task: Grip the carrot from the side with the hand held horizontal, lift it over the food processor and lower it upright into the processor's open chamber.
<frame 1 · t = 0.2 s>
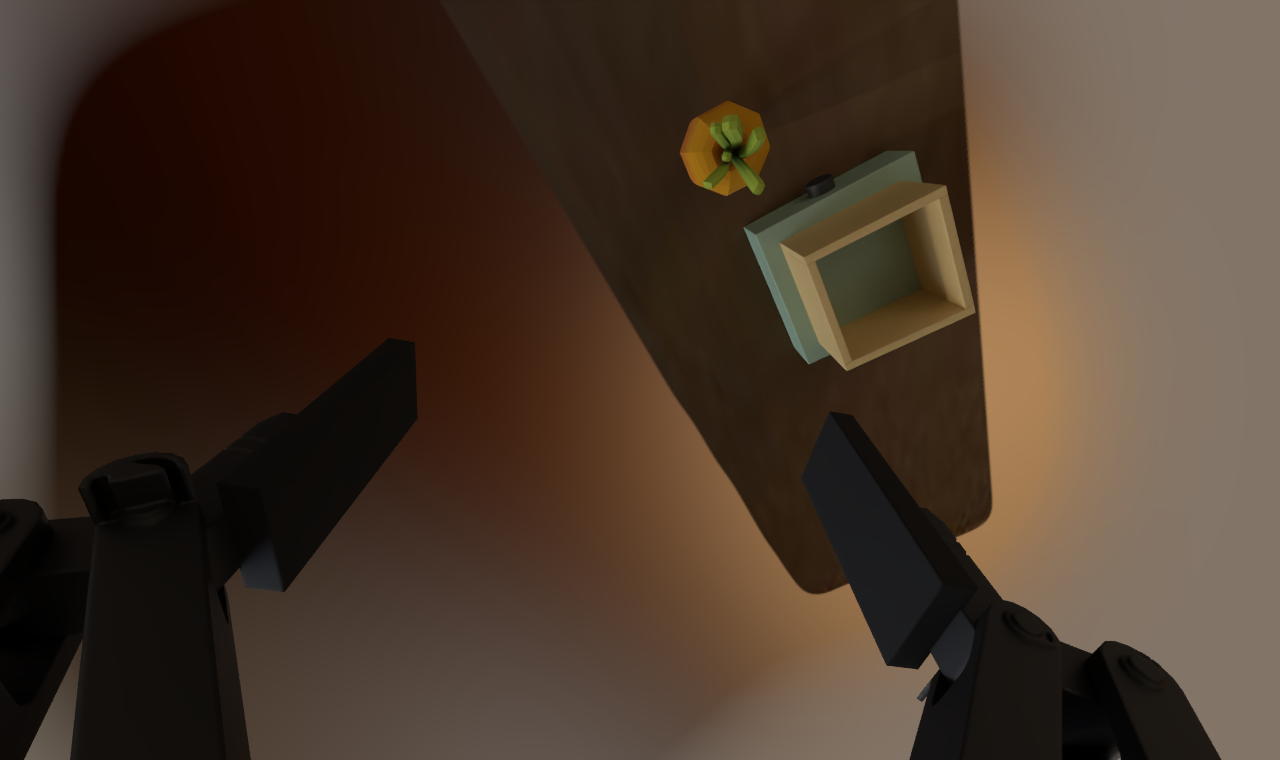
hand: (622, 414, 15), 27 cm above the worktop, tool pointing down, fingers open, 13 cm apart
carrot: (702, 149, 37), on the worktop
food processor: (836, 257, 41), on the worktop
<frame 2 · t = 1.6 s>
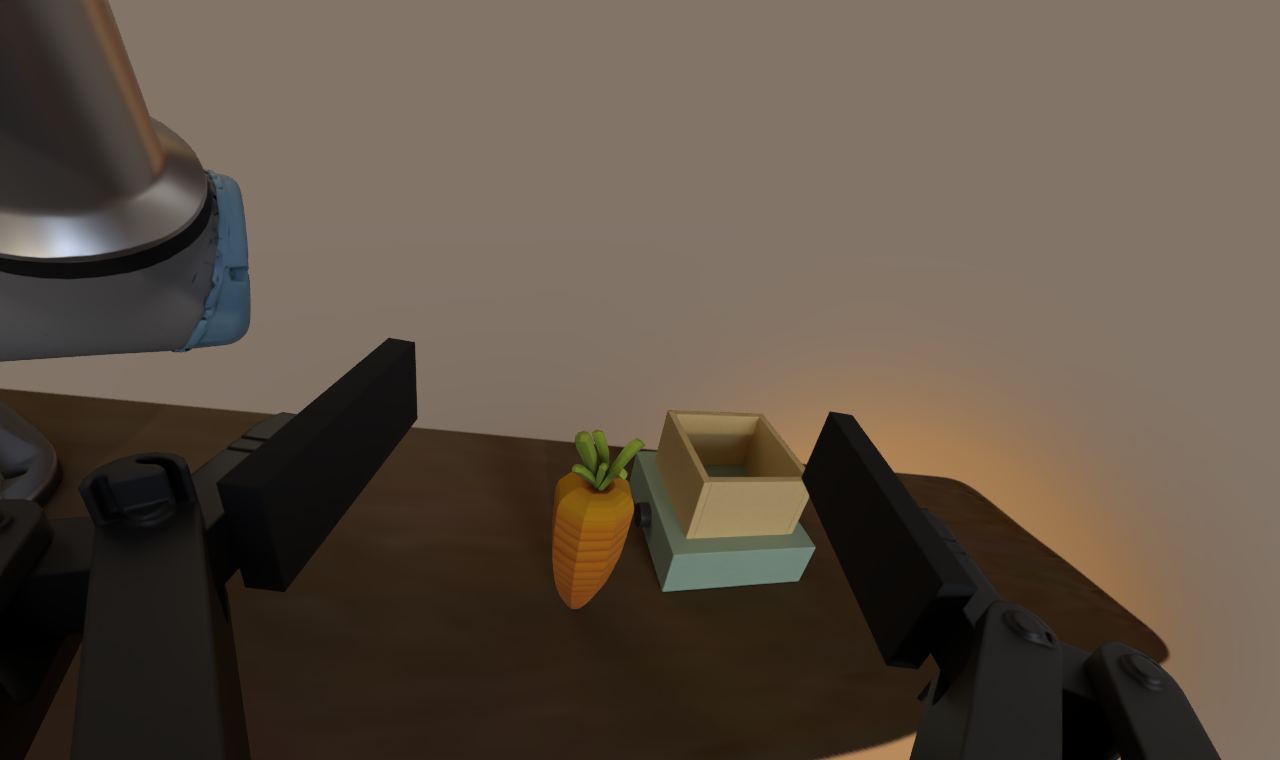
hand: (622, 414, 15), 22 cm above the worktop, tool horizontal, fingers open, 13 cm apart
carrot: (573, 608, 34), on the worktop
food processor: (707, 529, 43), on the worktop
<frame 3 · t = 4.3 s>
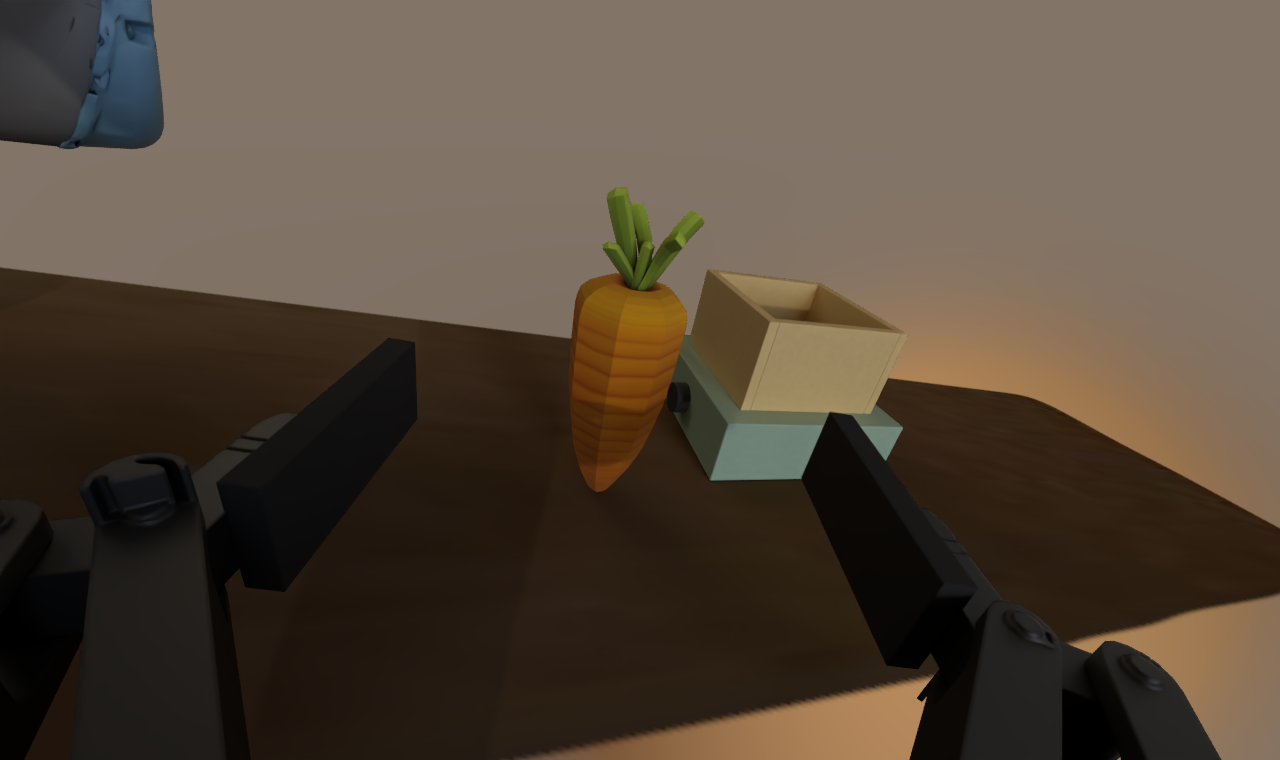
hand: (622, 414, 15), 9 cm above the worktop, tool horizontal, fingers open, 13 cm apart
carrot: (596, 493, 26), on the worktop
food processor: (755, 424, 35), on the worktop
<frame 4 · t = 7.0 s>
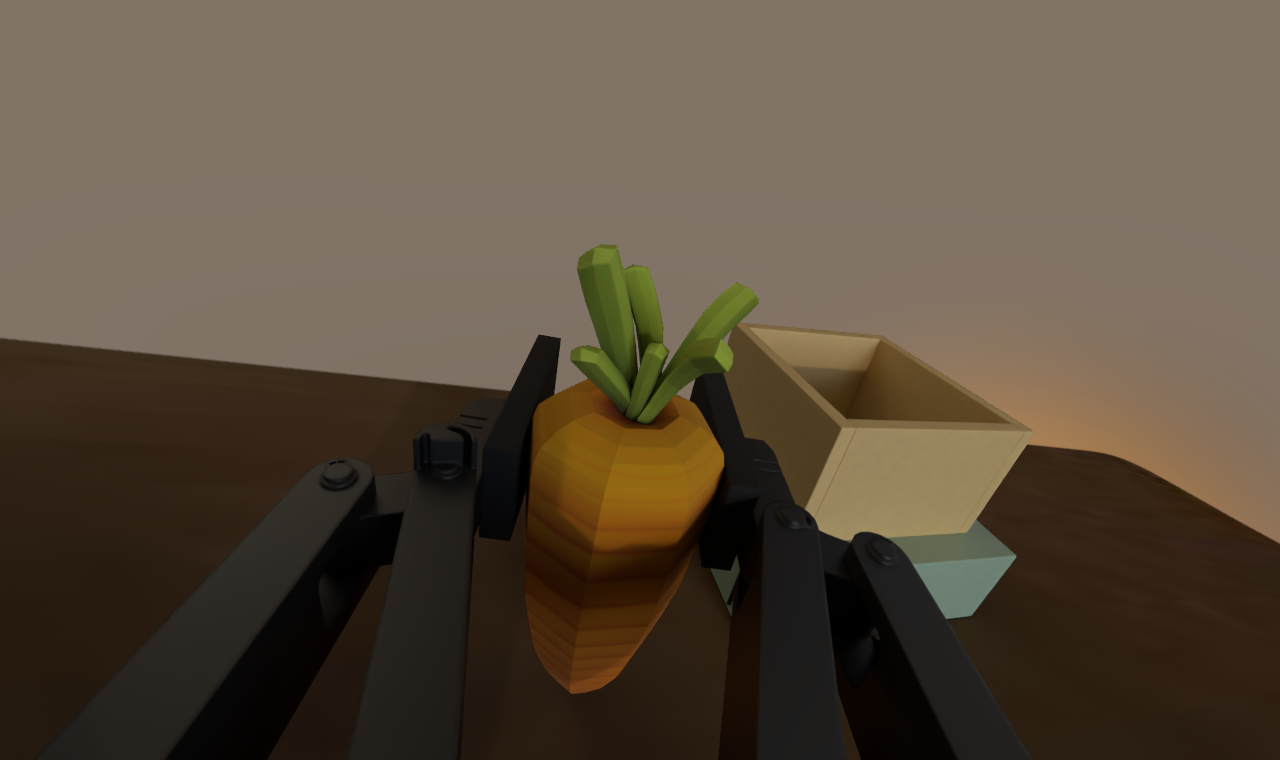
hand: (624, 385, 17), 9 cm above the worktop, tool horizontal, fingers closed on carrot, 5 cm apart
carrot: (574, 687, 17), on the worktop, touching gripper
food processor: (796, 526, 26), on the worktop
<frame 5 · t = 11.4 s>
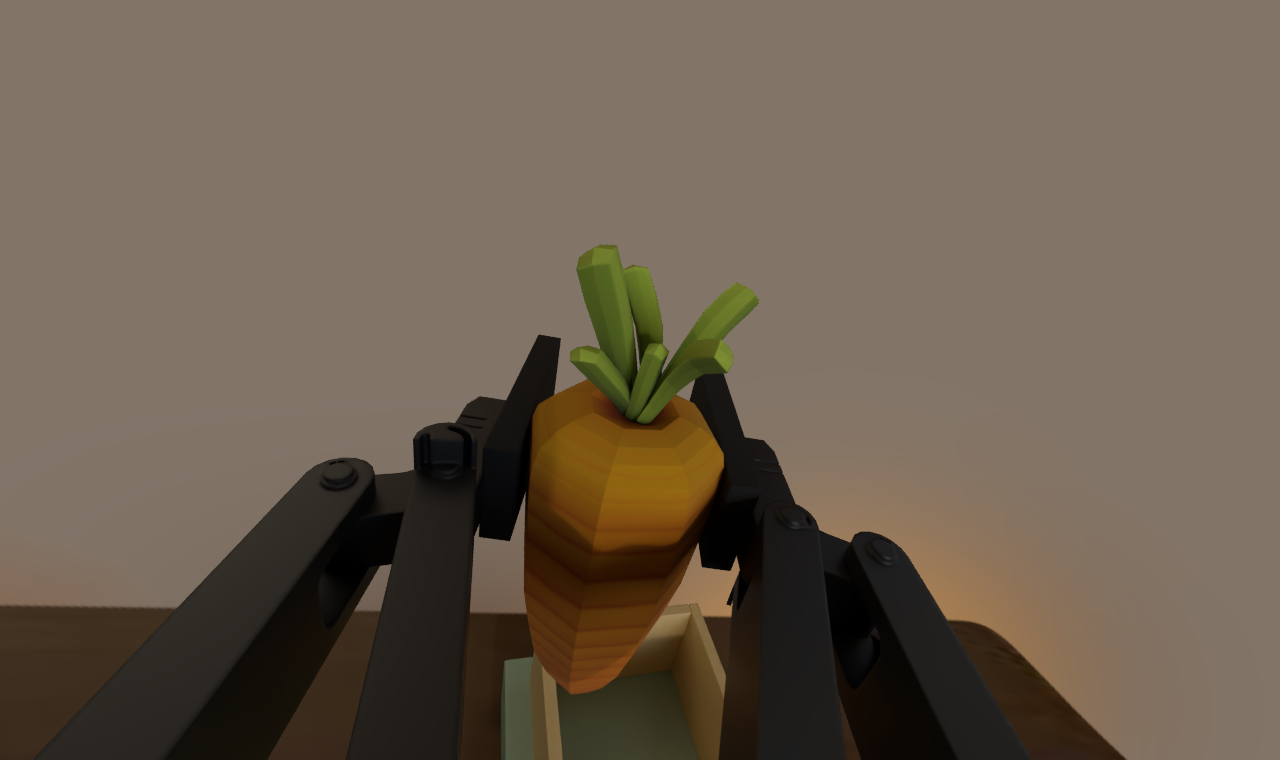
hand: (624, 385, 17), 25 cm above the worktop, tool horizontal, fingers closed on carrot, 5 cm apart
carrot: (574, 688, 17), point 16 cm above the worktop, touching gripper
when the fingers open (13 cm above the worktop, at t = 15.6 s): carrot stays where it is, resting on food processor.
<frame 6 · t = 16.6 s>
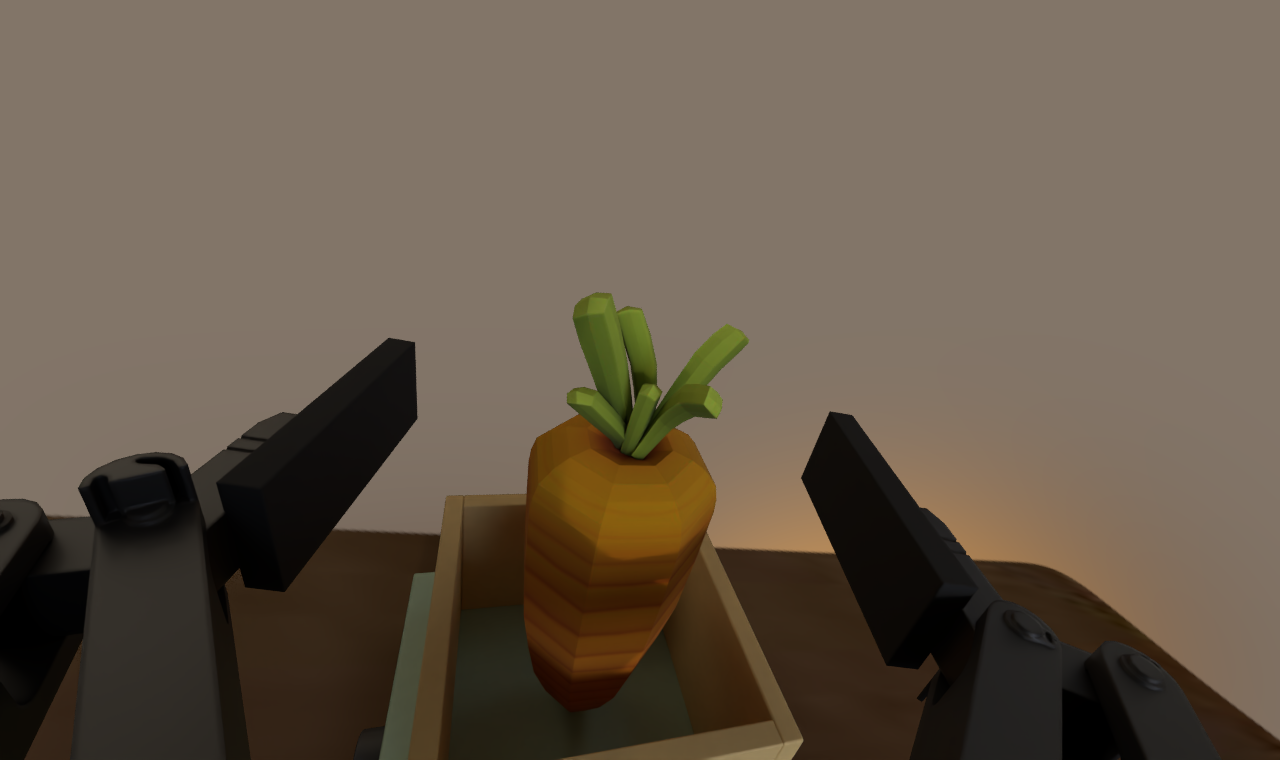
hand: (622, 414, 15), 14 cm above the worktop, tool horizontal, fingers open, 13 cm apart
carrot: (573, 705, 17), point 4 cm above the worktop, touching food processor
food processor: (560, 758, 19), on the worktop
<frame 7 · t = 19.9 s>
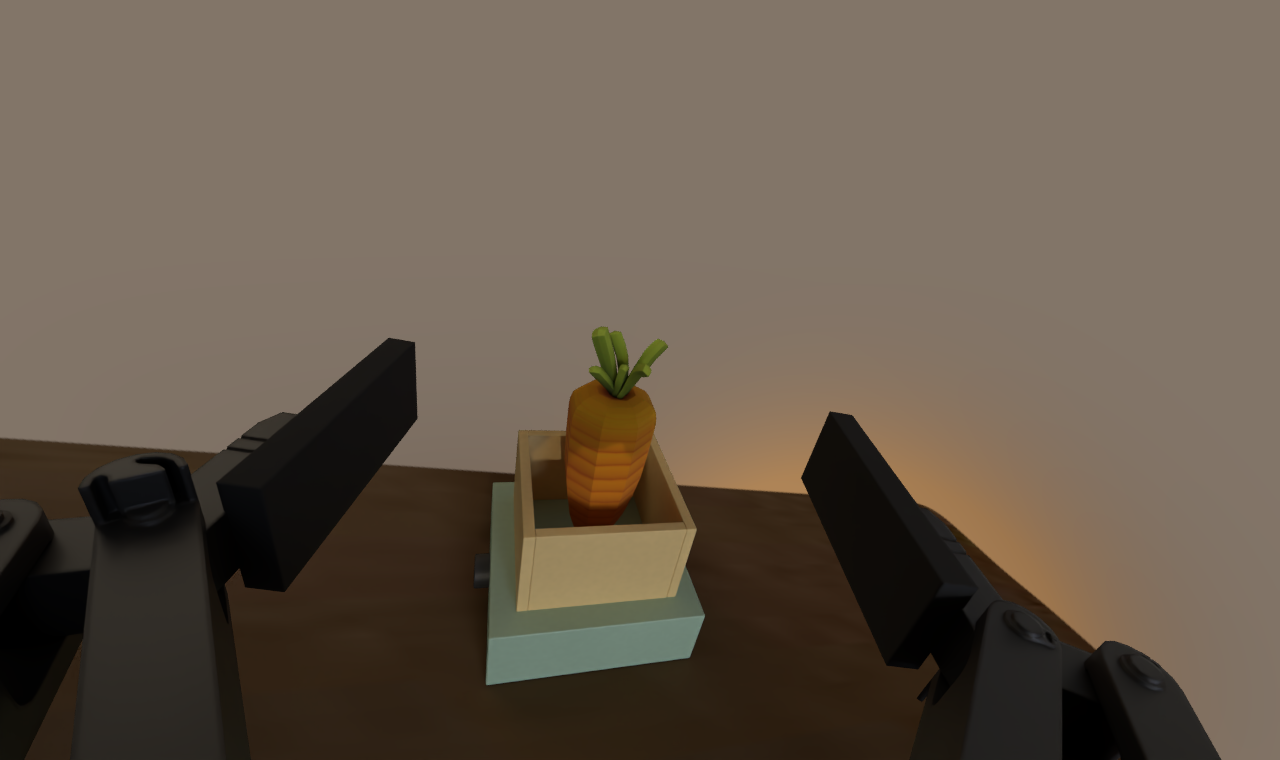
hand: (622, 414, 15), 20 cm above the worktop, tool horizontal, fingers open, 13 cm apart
carrot: (588, 544, 31), point 4 cm above the worktop, touching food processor
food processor: (580, 584, 33), on the worktop
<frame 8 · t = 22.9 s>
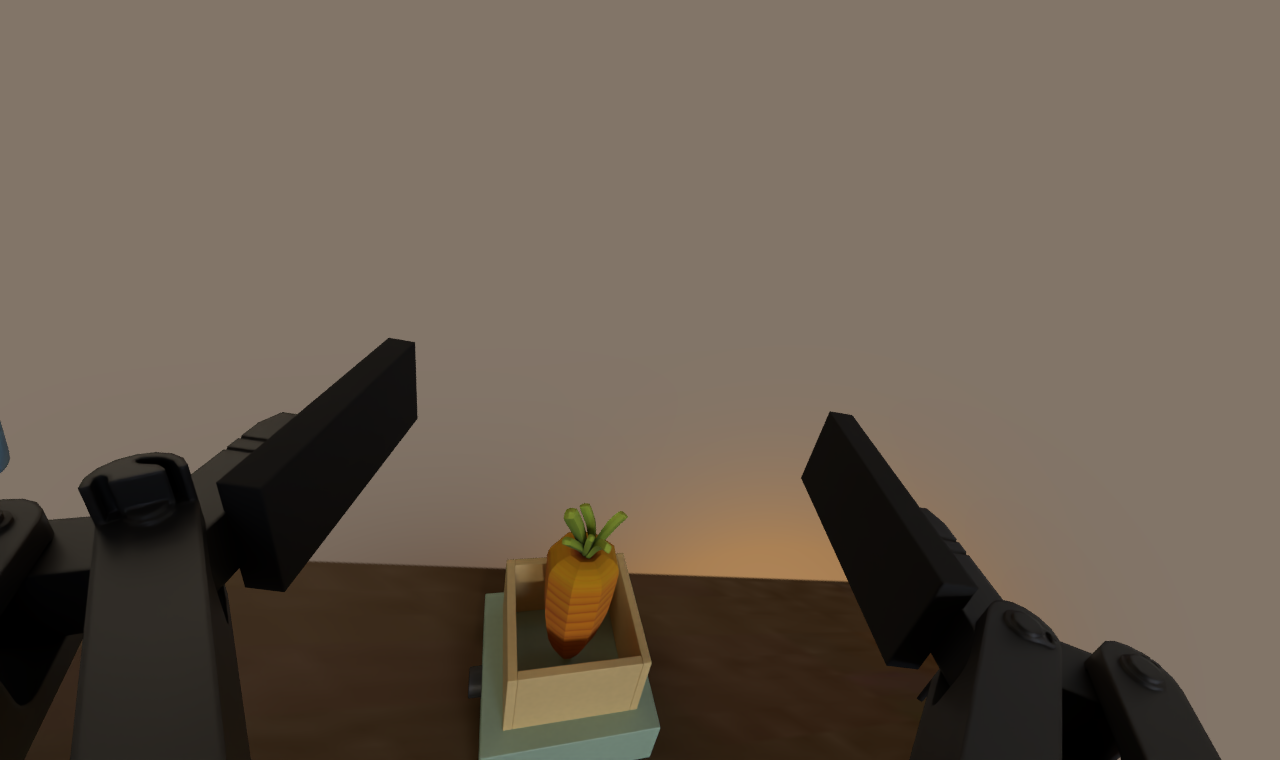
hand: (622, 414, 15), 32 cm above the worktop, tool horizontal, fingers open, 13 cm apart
carrot: (565, 656, 37), point 4 cm above the worktop, touching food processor
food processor: (559, 685, 39), on the worktop
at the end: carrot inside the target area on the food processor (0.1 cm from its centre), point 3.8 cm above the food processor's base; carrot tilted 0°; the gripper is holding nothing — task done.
